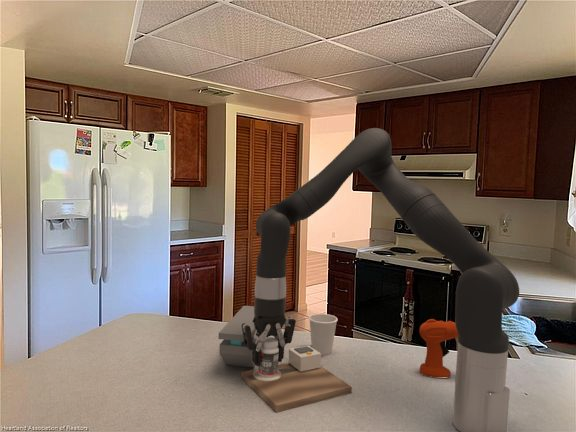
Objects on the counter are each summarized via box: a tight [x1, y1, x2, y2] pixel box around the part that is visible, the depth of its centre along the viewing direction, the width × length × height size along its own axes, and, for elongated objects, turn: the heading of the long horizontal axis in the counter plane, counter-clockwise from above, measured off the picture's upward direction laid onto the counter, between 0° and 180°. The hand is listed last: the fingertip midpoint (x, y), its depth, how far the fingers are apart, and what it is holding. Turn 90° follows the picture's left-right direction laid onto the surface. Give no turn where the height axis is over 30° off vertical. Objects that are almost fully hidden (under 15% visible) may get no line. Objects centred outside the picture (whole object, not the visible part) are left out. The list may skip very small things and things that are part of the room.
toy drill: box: [419, 318, 458, 378], centre depth 113 cm, size 5×19×15 cm, turn 80°
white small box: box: [287, 345, 322, 372], centre depth 112 cm, size 6×6×4 cm
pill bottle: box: [257, 336, 279, 377], centre depth 106 cm, size 5×5×8 cm
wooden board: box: [241, 362, 353, 413], centre depth 104 cm, size 18×20×2 cm
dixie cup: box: [308, 313, 338, 356], centre depth 126 cm, size 8×8×10 cm
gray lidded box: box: [217, 305, 261, 369], centre depth 119 cm, size 25×8×11 cm, turn 172°
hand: (267, 362), depth 106 cm, fingers open, 5 cm apart
